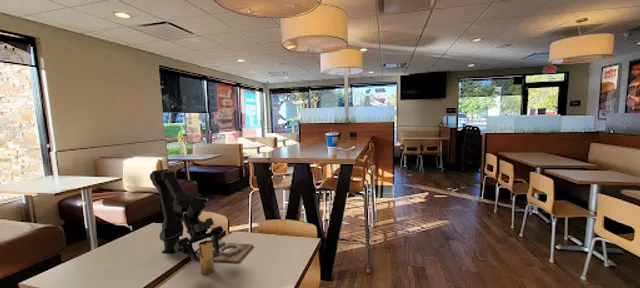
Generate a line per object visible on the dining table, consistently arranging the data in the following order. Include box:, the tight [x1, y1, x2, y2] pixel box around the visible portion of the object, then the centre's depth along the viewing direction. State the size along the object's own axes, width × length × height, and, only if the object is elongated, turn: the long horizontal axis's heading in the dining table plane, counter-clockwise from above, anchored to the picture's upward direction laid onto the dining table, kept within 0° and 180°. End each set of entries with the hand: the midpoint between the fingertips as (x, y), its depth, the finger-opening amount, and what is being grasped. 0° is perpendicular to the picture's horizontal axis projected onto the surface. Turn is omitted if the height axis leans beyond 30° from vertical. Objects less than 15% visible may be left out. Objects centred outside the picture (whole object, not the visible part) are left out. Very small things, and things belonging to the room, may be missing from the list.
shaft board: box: [190, 238, 254, 264], centre depth 128 cm, size 22×16×3 cm
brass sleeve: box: [198, 239, 215, 276], centre depth 112 cm, size 5×5×12 cm
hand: (208, 256), depth 111 cm, fingers open, 8 cm apart
